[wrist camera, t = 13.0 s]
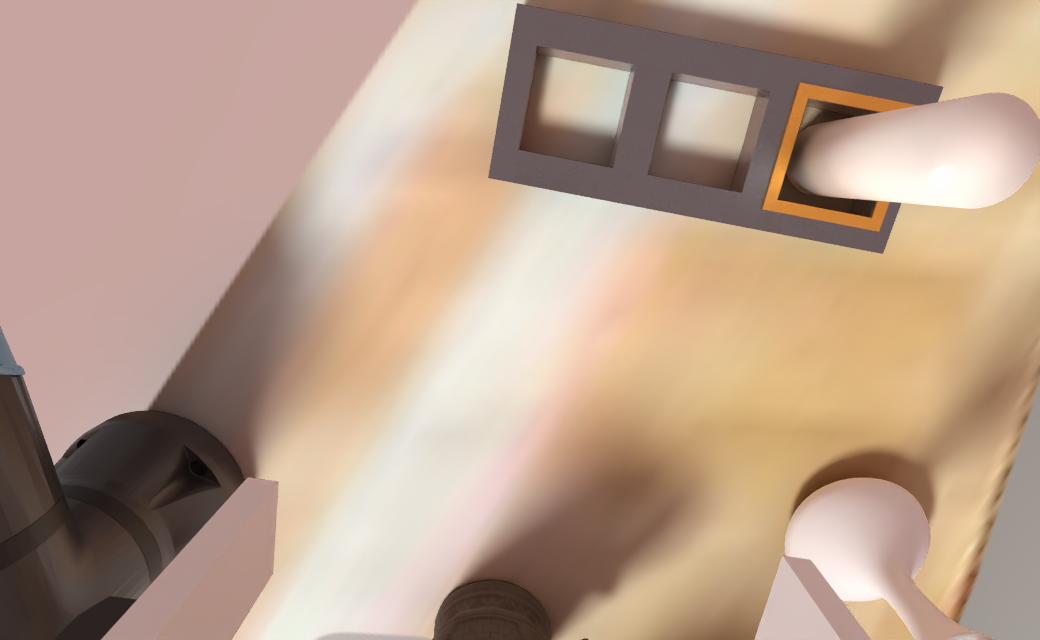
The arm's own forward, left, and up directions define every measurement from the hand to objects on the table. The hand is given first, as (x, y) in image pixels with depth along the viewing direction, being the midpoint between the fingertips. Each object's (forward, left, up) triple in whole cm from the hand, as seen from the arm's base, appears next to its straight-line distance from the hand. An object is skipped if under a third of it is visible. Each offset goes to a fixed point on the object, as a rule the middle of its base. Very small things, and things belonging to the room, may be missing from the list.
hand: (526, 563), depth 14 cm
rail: (+9, +14, -30) cm, 34 cm away
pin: (+18, +14, -30) cm, 37 cm away
